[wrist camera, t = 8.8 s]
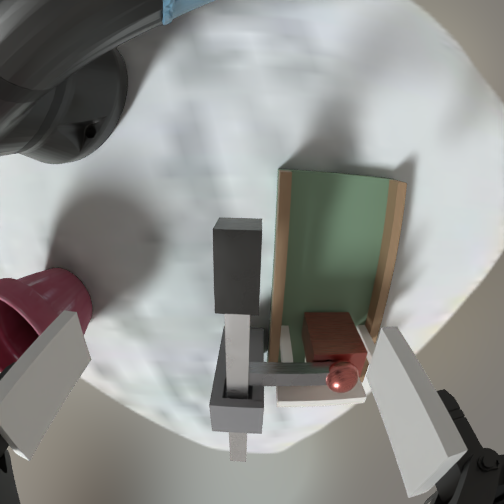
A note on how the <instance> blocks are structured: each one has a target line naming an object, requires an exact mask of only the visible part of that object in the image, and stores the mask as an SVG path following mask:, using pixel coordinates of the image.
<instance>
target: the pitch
mask: <svg viewBox="0 0 504 504" xmlns="http://www.w3.org/2000/svg"><path fill="white" fill-rule="evenodd" d="M406 188H407V183H405V182H401V181H398V180H395V179H391V178H382V177H374V176H365V175H355V174H345V173H334V172H321V171H307V170H291V169H278V180H277V203H276V224H275V244H274V262H273V279H272V296H271V311H270V326H269V341H268V354H267V362H305V352H304V346H303V341H302V336H301V334H302V326H303V319H304V312H349V314H350V316H351V318H352V320H353V322H354V324H355V326H356V328H357V330H358V333H359V335H360V337H361V339H362V341H363V343H364V346H365V348H366V350H367V352H368V353H367V357H366V360H365V363H364V366H363V369H362V373H361V376H360V377H358V382H357V384H356V385H355V387H354V388H353V389H351V390H350V391H348V392H345V393H336V392H333V391H332V390H330V389H329V388H328V386H327V385H320V386H276V399H277V407H313V406H332V405H346V404H357V403H364V402H365V399H366V394H365V391H364V389H363V386H362V383H361V382H363V380H364V377H365V374H366V371H367V368H368V365H369V364H370V363H371V360H372V357H373V353H374V350H375V347H376V346H375V343H376V339H377V336H378V332H379V329H380V325H381V321H382V318H383V314H384V310H385V306H386V302H387V298H388V293H389V289H390V285H391V280H392V276H393V271H394V266H395V261H396V256H397V250H398V245H399V239H400V233H401V226H402V219H403V212H404V205H405V197H406ZM249 362H264V347H263V328H250V347H249ZM209 407H210V416H211V425H212V431H220V432H234V433H259V434H262V423H263V412H264V386H250V385H248V399H230V398H227V377H226V346H225V327H224V329H223V334H222V340H221V345H220V350H219V356H218V361H217V366H216V372H215V377H214V382H213V388H212V393H211V399H210V404H209Z"/></svg>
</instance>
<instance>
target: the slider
mask: <svg viewBox="0 0 504 504" xmlns="http://www.w3.org/2000/svg"><path fill="white" fill-rule="evenodd" d="M261 245H262V219H251V218H219V219H218V221H217V223H216V225H215V226H214V228H213V260H214V297H215V313H219V314H225V346H226V377H227V398H230V399H248V385H250V386H320V385H327V386H328V388H329V389H330V390H332V391H333V392H336V393H345V392H348V391H350V390H351V389H353V388H354V387H355V385H356V384H357V382H358V377H360V376H361V373H362V369H363V366H364V363H365V360H366V357H367V353H368V352H367V350H366V348H365V346H364V343H363V341H362V339H361V337H360V335H359V333H358V330H357V328H356V326H355V324H354V322H353V320H352V318H351V316H350V314H349V312H304V319H303V326H302V334H301V336H302V341H303V346H304V352H305V357H306V362H249V347H250V315H259V294H260V270H261ZM229 443H230V460H231V461H245V462H246V451H247V433H234V432H229Z"/></svg>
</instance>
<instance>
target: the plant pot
mask: <svg viewBox="0 0 504 504" xmlns="http://www.w3.org/2000/svg"><path fill="white" fill-rule="evenodd" d="M64 310H66V311H72V312H77V315H78V318H79V322H80V325H81V329H82V332H83V335H84V334H85V331H86V329H87V326H88V324H89V321H90V319H91V316H92V302H91V298H90V295H89V293H88V291H87V289H86V288H85V286H84V285H83V283H82V282H81V281H80V280H79V279H78V278H77V277H76V276H75V275H74V274H73V273H71V272H69V271H67V270H65V269H62V268H51V269H48V270H45V271H41V272H38V273H35V274H32V275H29V276H26V277H23V278H20V279H17V280H16V279H12V278H3V279H0V372H2V371H3V370H4V369H5V368H6V367H7V366H9V365H10V364H12V363H13V362H16V361H17V360H18V359H19V358H20V357H21V356H22V355H23V354H24V352H25V351H26V350H27V349H28V348H29V347H30V346H31V345H32V344H33V342H34V341H35V340H36V339H37V338H38V337H39V336H40V335H41V334H42V333H43V332H44V331H45V330H46V328H47V327H48V326H49V325H50V324H51V323H52V322H53V321H54V320H55V319H56V318H57V317H58V316H59V315H60V314H61V313H62V312H63V311H64Z"/></svg>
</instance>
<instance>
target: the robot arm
mask: <svg viewBox="0 0 504 504" xmlns="http://www.w3.org/2000/svg"><path fill="white" fill-rule="evenodd" d="M213 1H216V0H0V156H4V155H9V154H16V153H19V154H22V155H25V156H27V157H30V158H33V159H35V160H38V161H40V162H43V163H48V164H62V163H68V162H74V161H77V160H80V159H82V158H84V157H86V156H88V155H90V154H91V153H92V152H94V151H95V150H96V149H97V148H99V147H100V146H101V145H102V144H103V143H104V141H105V140H106V139H107V138H108V136H109V135H110V134H111V132H112V131H113V129H114V128H115V126H116V124H117V122H118V120H119V118H120V115H121V113H122V110H123V107H124V104H125V100H126V95H127V84H128V80H127V70H126V66H125V63H124V60H123V58H122V56H121V54H120V53H119V51H118V50H117V49H116V48H115V47H117V46H119V45H120V44H122V43H124V42H126V41H128V40H129V39H131V38H133V37H135V36H137V35H139V34H141V33H143V32H146V31H148V30H150V29H152V28H154V27H156V26H159V25H161V24H163V26H164V25H167V24H169V23H171V22H172V20H173V19H174V18H176V17H178V16H180V15H182V14H184V13H187V12H189V11H191V10H193V9H196V8H198V7H200V6H203V5H205V4H208V3H210V2H213ZM90 361H91V357H90V354H89V351H88V348H87V345H86V342H85V339H84V335H83V332H82V329H81V325H80V322H79V318H78V315H77V312H72V311H66V310H64V311H63V312H62V313H61V314H60V315H59V316H58V317H57V318H56V319H55V320H54V321H53V322H52V323H51V324H50V325H49V326H48V327H47V328H46V330H45V331H44V332H43V333H42V334H41V335H40V336H39V337H38V338H37V339H36V340H35V341H34V342H33V344H32V345H31V346H30V347H29V348H28V349H27V350H26V351H25V352H24V354H23V355H22V356H21V357H20V358H19V359H18V360H17V361H16V362H13V363H12V364H10V365H9V366H7V367H6V368H5V369H4V370H3V371H2V372H1V373H0V504H20V500H19V497H18V493H17V489H16V485H15V480H14V475H13V470H12V465H11V459H10V455H9V452H8V450H7V447H8V446H10V447H11V448H12V449H13V451H14V452H15V453H16V454H18V455H19V456H21V457H23V458H25V459H27V460H29V461H30V460H31V458H32V456H33V454H34V452H35V451H36V449H37V447H38V445H39V444H40V442H41V440H42V438H43V437H44V435H45V433H46V431H47V430H48V428H49V426H50V424H51V423H52V421H53V419H54V417H55V416H56V414H57V413H58V411H59V409H60V408H61V406H62V405H63V403H64V401H65V400H66V398H67V396H68V395H69V393H70V392H71V390H72V389H73V387H74V385H75V384H76V382H77V380H78V379H79V378H80V376H81V375H82V373H83V371H84V370H85V368H86V367H87V365H88V364H89V362H90ZM366 377H367V379H368V382H369V385H370V387H371V390H372V392H373V395H374V398H375V400H376V403H377V406H378V408H379V411H380V414H381V417H382V419H383V422H384V425H385V428H386V430H387V433H388V436H389V439H390V442H391V445H392V448H393V451H394V454H395V457H396V460H397V463H398V465H399V469H400V472H401V475H402V478H403V481H404V485H405V488H406V491H407V494H408V497H413V496H416V495H419V494H422V493H425V492H427V491H428V490H430V489H431V488H432V487H433V486H434V485H436V488H437V491H436V492H435V493H434V494H433V495H431V496H430V497H429V498H428V499H427V500H426V501H425V503H424V504H427V503H428V502H430V501H431V502H430V504H504V455H498V454H497V453H496V452H495V451H494V450H492V449H489V448H483V447H482V446H481V444H480V443H479V441H478V439H477V437H476V435H475V433H474V432H473V430H472V428H471V426H470V424H469V422H468V421H467V419H466V418H465V417H464V414H463V412H462V410H460V407H459V405H458V403H457V402H456V400H455V399H454V397H453V396H452V395H451V394H449V393H448V392H447V391H446V390H445V389H444V390H439V391H436V389H435V388H434V386H433V384H432V383H431V381H430V379H429V377H428V376H427V374H426V373H425V371H424V369H423V367H422V366H421V364H420V362H419V361H418V359H417V358H416V356H415V354H414V353H413V351H412V349H411V348H410V346H409V345H408V343H407V342H406V340H405V338H404V337H403V335H402V334H401V332H400V331H399V329H398V328H397V327H383V328H381V330H380V334H379V337H378V340H377V344H376V347H375V350H374V353H373V357H372V360H371V363H370V366H369V369H368V372H367V375H366Z"/></svg>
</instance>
